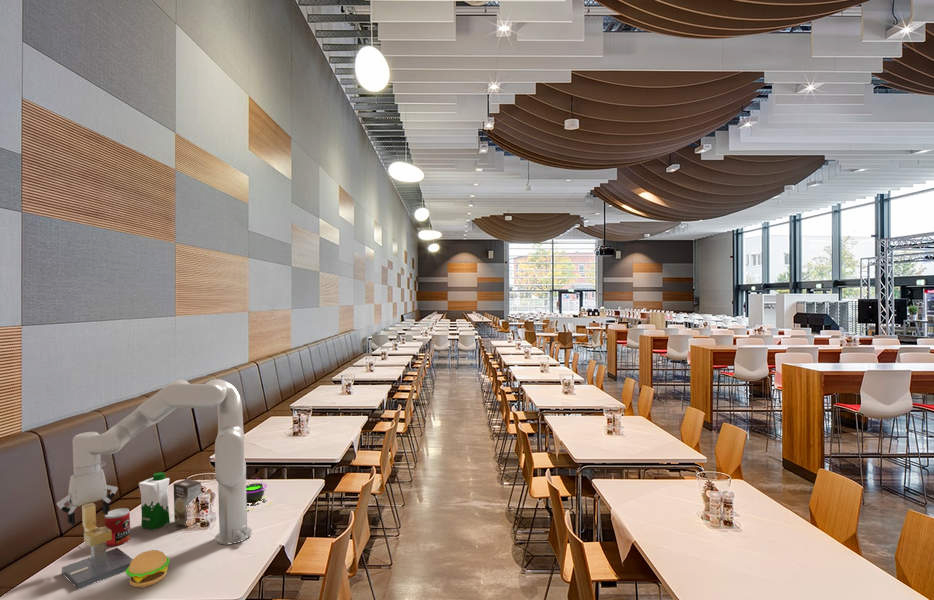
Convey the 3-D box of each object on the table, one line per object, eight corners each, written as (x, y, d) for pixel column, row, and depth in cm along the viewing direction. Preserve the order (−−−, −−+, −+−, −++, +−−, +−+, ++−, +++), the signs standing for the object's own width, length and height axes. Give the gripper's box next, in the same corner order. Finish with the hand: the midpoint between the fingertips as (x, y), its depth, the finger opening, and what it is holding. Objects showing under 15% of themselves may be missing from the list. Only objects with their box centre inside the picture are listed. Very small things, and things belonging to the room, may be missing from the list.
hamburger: (121, 580, 164) (120, 554, 164) (162, 565, 173) (161, 540, 173) (132, 595, 156) (131, 567, 156) (175, 578, 165) (174, 551, 165)
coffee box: (173, 523, 206) (172, 483, 205) (188, 516, 211) (187, 478, 211) (187, 527, 201) (186, 487, 201) (202, 521, 207) (201, 481, 207)
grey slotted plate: (135, 567, 173) (134, 540, 172) (77, 589, 160) (76, 561, 160) (117, 553, 182) (116, 528, 182) (61, 573, 170) (61, 546, 169)
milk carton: (173, 522, 207) (172, 472, 206) (152, 532, 198) (150, 480, 198) (158, 518, 210) (156, 470, 210) (137, 528, 202) (135, 478, 201)
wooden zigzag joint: (111, 539, 172) (110, 509, 171) (90, 546, 167) (89, 516, 167) (98, 529, 179) (97, 501, 179) (77, 536, 174) (76, 507, 174)
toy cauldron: (279, 500, 227) (279, 475, 227) (252, 513, 213) (251, 487, 213) (255, 495, 233) (254, 471, 233) (227, 507, 220) (226, 482, 220)
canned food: (118, 547, 187) (117, 517, 186) (99, 545, 188) (98, 516, 188) (135, 537, 194) (134, 508, 194) (117, 535, 196) (117, 507, 196)
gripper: (112, 460, 185) (114, 507, 185) (52, 474, 171) (54, 525, 171) (120, 464, 180) (122, 512, 180) (59, 479, 166) (61, 531, 167)
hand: (89, 518), depth 176 cm, fingers open, 9 cm apart
